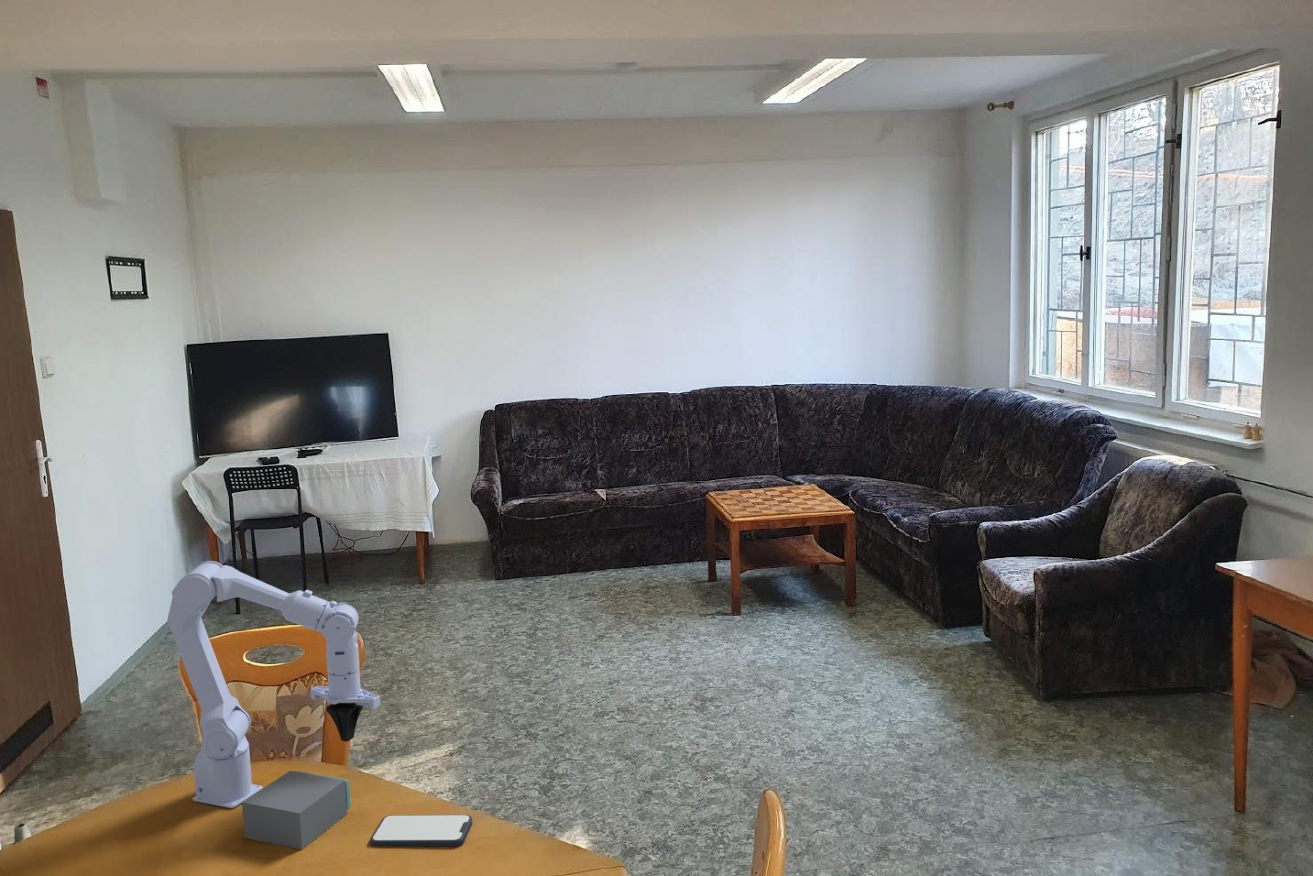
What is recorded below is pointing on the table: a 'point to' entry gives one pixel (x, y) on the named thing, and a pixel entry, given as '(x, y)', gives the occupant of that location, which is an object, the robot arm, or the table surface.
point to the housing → (294, 809)
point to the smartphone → (422, 831)
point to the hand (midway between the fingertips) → (347, 739)
